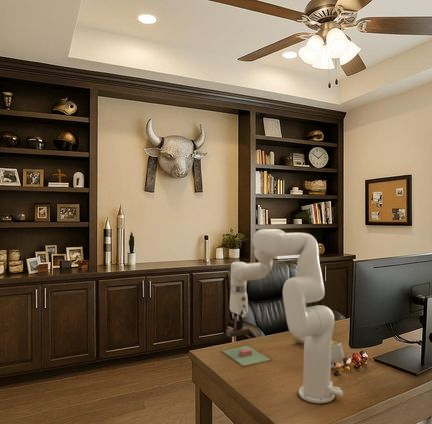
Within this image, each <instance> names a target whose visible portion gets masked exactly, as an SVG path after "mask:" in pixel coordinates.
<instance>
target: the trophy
mask: <svg viewBox="0 0 432 424" xmlns="http://www.w3.org/2000/svg"><path fill="white" fill-rule="evenodd" d="M305 339H306V337H301V338H298V337H295V336H293V335H292V340H293V342H294V343H295V344H302V343H303V344H304V342H305ZM339 343H340V342H338V341H335V340H333V339H332V340H331V354H332V351H333V348H334V346H335V345H338V344H339ZM331 364H332V362H331Z"/></svg>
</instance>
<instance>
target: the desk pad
mask: <svg viewBox="0 0 432 424" xmlns="http://www.w3.org/2000/svg"><path fill="white" fill-rule="evenodd" d="M244 349H250V350H252V355H250V356H245V357H242V356H240V355H239V350H244ZM222 352H223V353H224V354H225V355H227V356H228V357H230V358H231V359H232V360H234V361H235V362H237V363H238V364H240V365H241V366H242V367H245V366H249V365H253V364H259V363H262V362H266V361H270V360H272V359H271V358H269V357H267V356H266V355H264V354H263V353H261V352H259V351H258V350H256V349H254V348H252V347H251V346H250V345H244V346H239V347H234V348H233V347H232V348H229V349H222Z"/></svg>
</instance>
